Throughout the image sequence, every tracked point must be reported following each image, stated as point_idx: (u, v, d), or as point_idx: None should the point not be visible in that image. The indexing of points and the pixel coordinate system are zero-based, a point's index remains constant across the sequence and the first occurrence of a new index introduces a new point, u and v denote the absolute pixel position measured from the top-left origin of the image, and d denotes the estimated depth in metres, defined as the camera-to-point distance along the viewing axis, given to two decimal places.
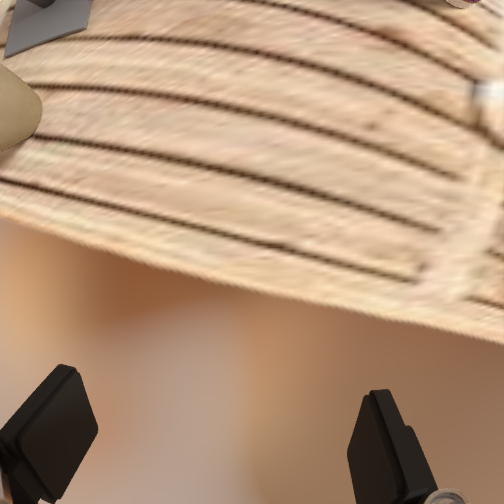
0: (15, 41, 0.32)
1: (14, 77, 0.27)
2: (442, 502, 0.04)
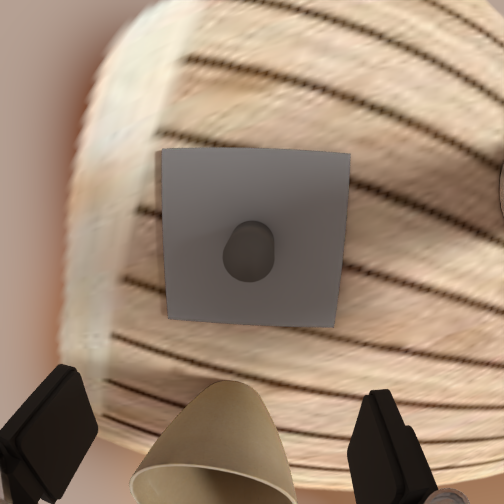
0: (189, 302, 0.32)
1: (276, 436, 0.27)
2: (442, 502, 0.04)
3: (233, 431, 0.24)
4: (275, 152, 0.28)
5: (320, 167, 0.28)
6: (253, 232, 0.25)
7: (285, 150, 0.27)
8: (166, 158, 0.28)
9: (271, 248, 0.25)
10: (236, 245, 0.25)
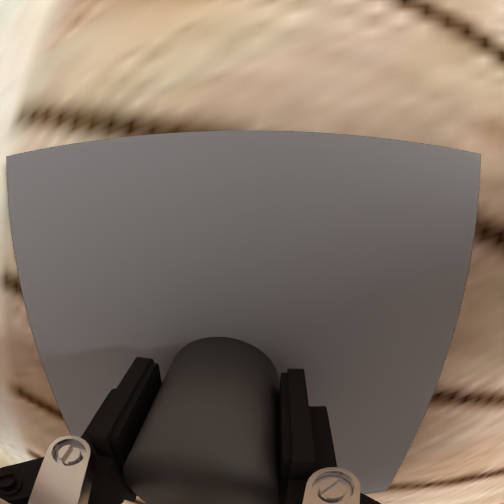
0: None
1: None
2: (325, 482, 0.06)
3: None
4: (282, 142, 0.09)
5: (411, 189, 0.09)
6: (205, 446, 0.06)
7: (313, 136, 0.09)
8: (14, 178, 0.10)
9: (269, 484, 0.06)
10: (155, 469, 0.06)
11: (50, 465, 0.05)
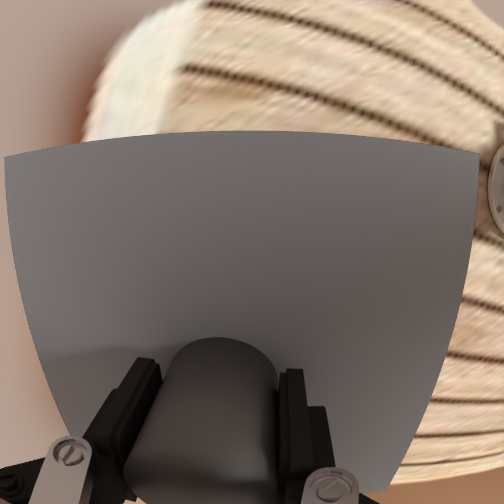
0: None
1: None
2: (324, 482, 0.06)
3: None
4: (281, 142, 0.09)
5: (410, 188, 0.09)
6: (205, 447, 0.06)
7: (311, 136, 0.09)
8: (12, 179, 0.09)
9: (269, 484, 0.06)
10: (155, 470, 0.06)
11: (51, 465, 0.05)
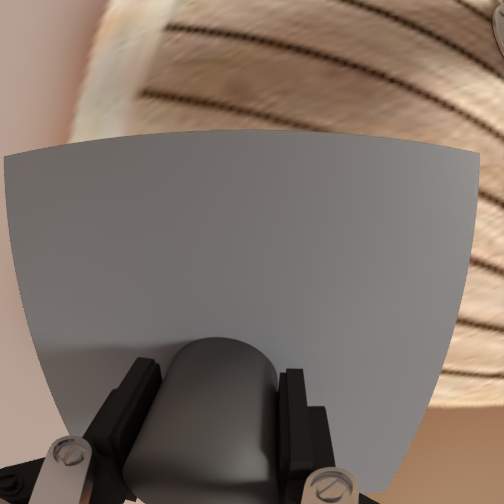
0: None
1: None
2: (324, 482, 0.06)
3: None
4: (281, 141, 0.09)
5: (410, 188, 0.09)
6: (205, 447, 0.06)
7: (311, 135, 0.09)
8: (11, 179, 0.09)
9: (269, 485, 0.06)
10: (155, 471, 0.06)
11: (51, 465, 0.05)
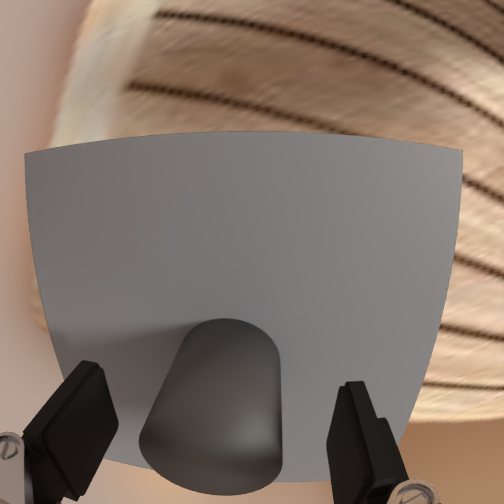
0: (122, 443, 0.14)
1: None
2: (409, 493, 0.05)
3: None
4: (282, 141, 0.10)
5: (398, 182, 0.10)
6: (217, 408, 0.07)
7: (309, 136, 0.10)
8: (32, 174, 0.11)
9: (274, 446, 0.07)
10: (169, 435, 0.07)
11: None
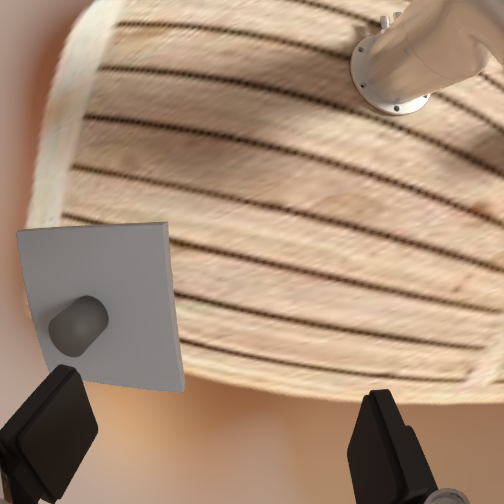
0: (59, 361, 0.30)
1: None
2: (442, 502, 0.04)
3: None
4: (94, 231, 0.27)
5: (134, 242, 0.27)
6: (65, 316, 0.23)
7: (101, 228, 0.27)
8: (19, 240, 0.27)
9: (80, 330, 0.24)
10: (55, 326, 0.24)
11: None
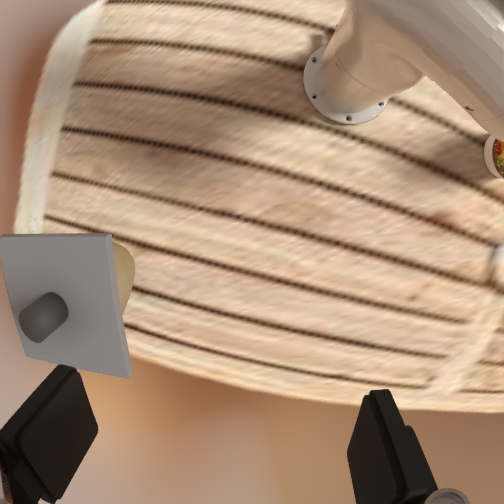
0: (33, 346, 0.35)
1: (118, 260, 0.40)
2: (442, 502, 0.04)
3: None
4: (54, 239, 0.30)
5: (84, 250, 0.30)
6: (30, 309, 0.27)
7: (60, 237, 0.30)
8: (0, 244, 0.31)
9: (40, 321, 0.27)
10: (23, 317, 0.28)
11: None
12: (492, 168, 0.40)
